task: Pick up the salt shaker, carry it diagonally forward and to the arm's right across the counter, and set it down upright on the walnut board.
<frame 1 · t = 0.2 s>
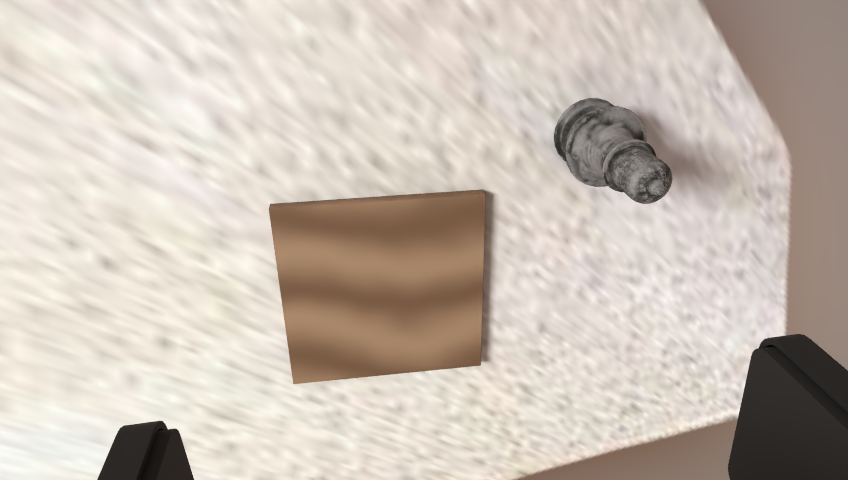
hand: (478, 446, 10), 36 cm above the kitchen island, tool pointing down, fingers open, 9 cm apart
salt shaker: (587, 132, 47), on the kitchen island
walnut board: (383, 288, 51), on the kitchen island
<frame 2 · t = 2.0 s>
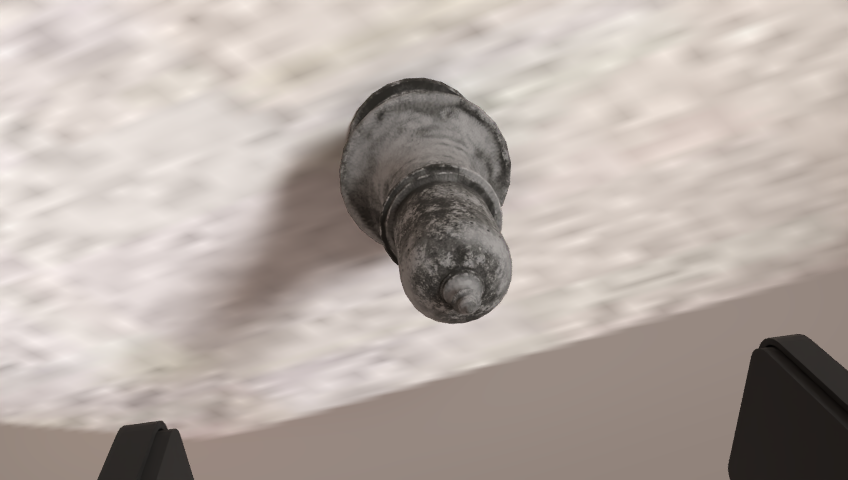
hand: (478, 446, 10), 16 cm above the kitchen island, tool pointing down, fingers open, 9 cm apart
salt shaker: (415, 144, 25), on the kitchen island
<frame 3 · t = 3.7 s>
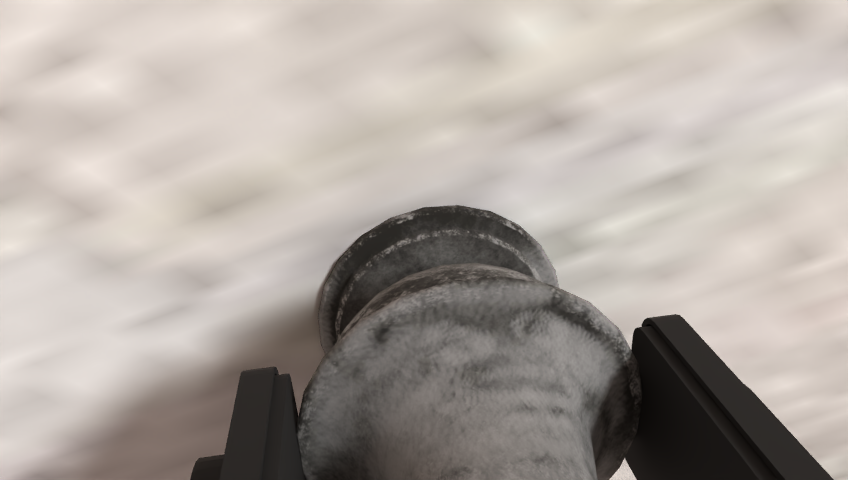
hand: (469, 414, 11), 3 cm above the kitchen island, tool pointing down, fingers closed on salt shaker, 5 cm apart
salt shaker: (439, 312, 14), on the kitchen island, touching gripper
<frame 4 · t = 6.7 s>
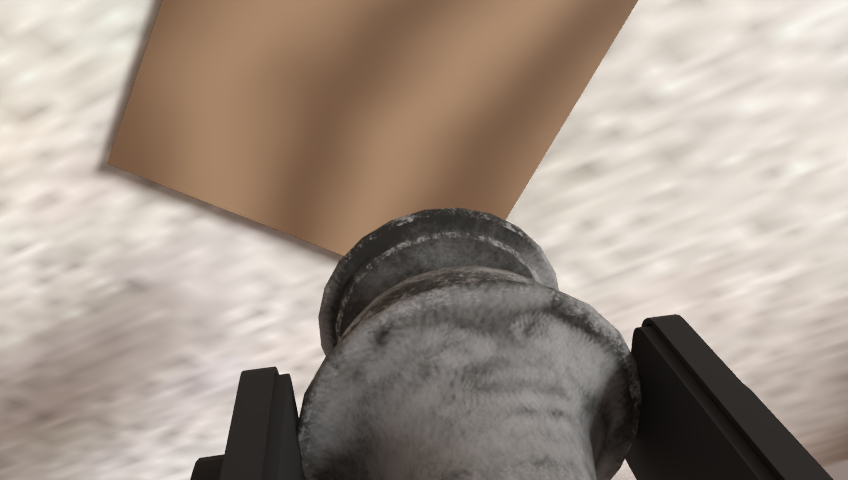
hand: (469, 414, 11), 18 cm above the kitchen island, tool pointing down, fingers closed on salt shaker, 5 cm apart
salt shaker: (440, 314, 14), point 14 cm above the kitchen island, touching gripper
walnut board: (376, 64, 25), on the kitchen island
when the fingers open (5 cm above the kitchen island, at t = 9.8 s): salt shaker stays where it is, resting on walnut board.
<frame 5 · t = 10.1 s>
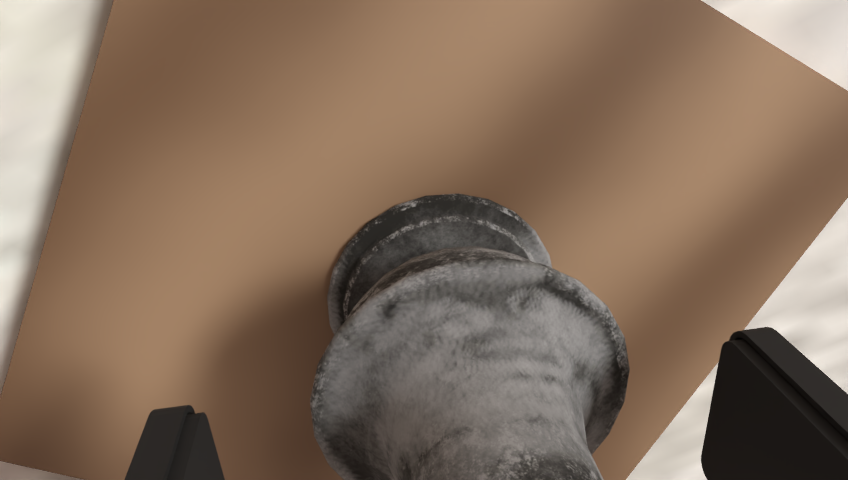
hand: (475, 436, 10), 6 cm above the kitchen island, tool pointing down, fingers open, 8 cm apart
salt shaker: (441, 294, 15), point 1 cm above the kitchen island, touching walnut board
walnut board: (428, 273, 15), on the kitchen island
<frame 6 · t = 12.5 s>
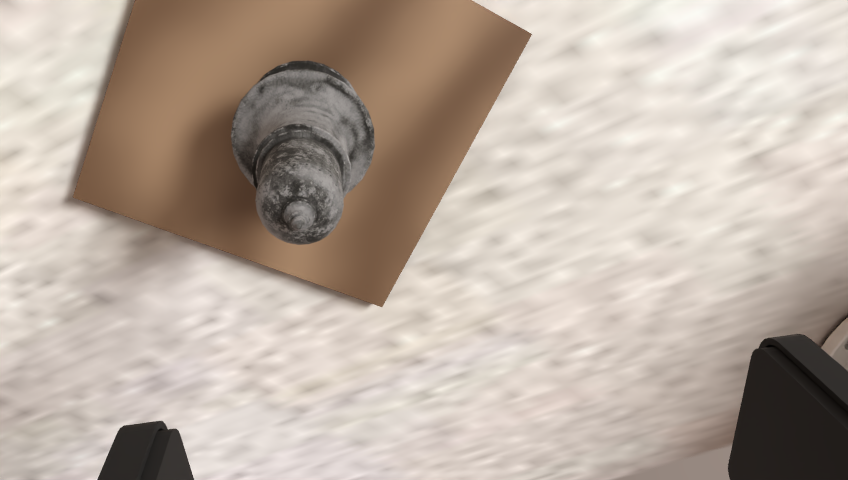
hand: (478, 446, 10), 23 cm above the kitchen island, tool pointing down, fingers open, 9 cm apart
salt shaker: (305, 117, 29), point 1 cm above the kitchen island, touching walnut board
walnut board: (302, 110, 30), on the kitchen island
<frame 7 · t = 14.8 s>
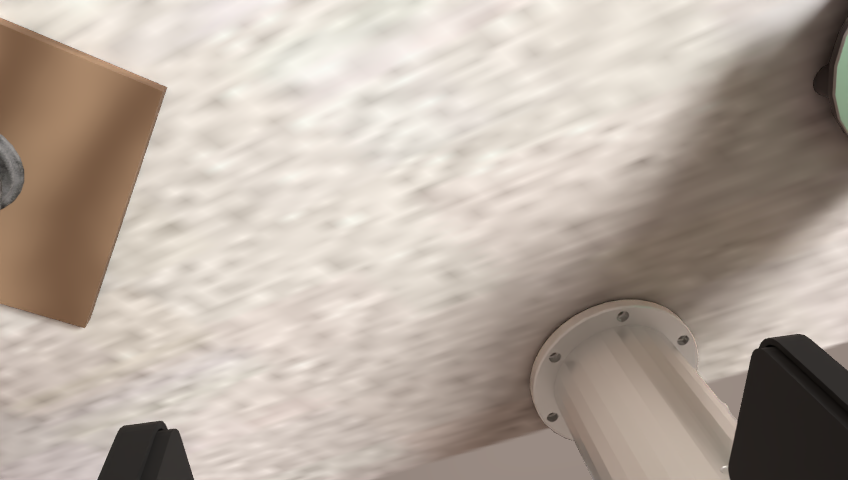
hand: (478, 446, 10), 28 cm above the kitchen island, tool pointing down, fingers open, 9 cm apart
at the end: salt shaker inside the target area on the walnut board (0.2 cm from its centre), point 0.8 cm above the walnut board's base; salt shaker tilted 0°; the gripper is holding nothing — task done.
